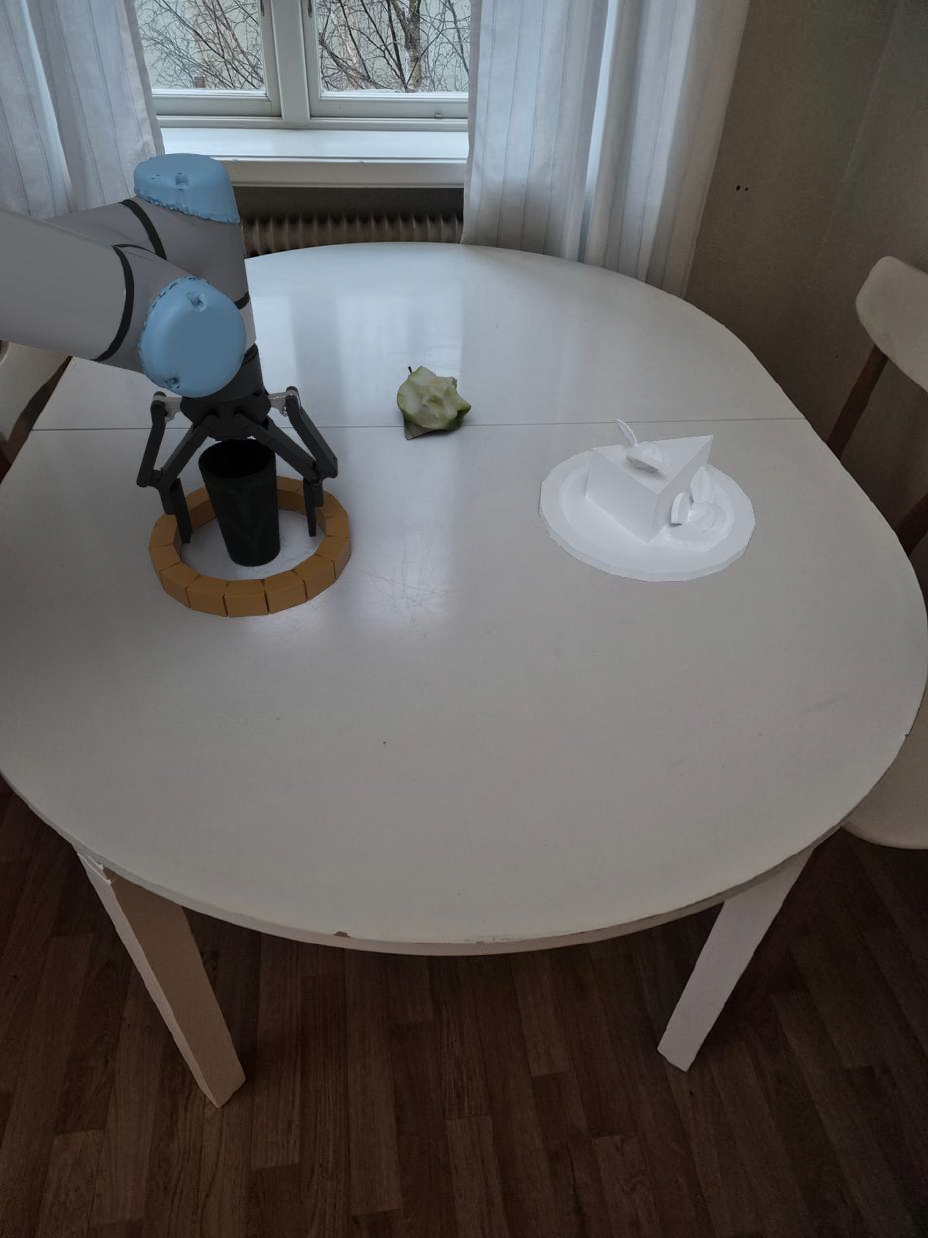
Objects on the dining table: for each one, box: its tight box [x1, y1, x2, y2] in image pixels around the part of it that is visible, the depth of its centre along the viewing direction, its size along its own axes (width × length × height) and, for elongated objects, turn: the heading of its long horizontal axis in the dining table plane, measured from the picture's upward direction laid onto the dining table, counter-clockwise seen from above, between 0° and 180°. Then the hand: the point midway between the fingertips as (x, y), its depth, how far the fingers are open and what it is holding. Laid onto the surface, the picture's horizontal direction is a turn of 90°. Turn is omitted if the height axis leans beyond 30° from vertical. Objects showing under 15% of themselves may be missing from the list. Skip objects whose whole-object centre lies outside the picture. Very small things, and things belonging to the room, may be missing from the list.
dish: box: [538, 418, 756, 583], centre depth 97 cm, size 25×25×11 cm
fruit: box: [396, 365, 472, 441], centre depth 113 cm, size 9×9×8 cm
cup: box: [197, 437, 281, 568], centre depth 91 cm, size 8×8×12 cm
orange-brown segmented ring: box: [148, 475, 352, 618], centre depth 94 cm, size 21×21×3 cm
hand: (250, 532), depth 93 cm, fingers open, 13 cm apart
